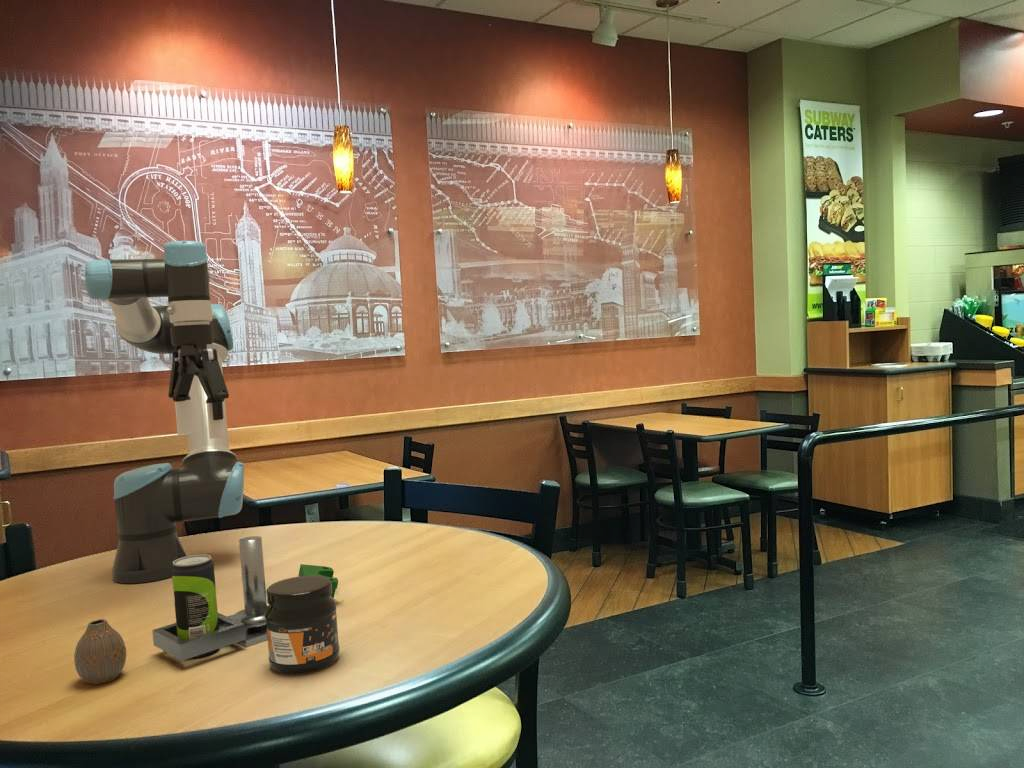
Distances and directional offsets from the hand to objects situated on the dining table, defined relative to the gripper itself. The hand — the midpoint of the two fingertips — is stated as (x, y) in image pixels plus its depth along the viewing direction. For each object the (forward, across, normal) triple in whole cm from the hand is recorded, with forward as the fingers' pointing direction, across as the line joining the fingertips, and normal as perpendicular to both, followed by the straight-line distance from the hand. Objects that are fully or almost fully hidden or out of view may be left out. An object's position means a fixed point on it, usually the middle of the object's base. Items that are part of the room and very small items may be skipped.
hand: (200, 436), depth 155 cm
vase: (+32, +22, -28) cm, 48 cm away
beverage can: (+32, +24, -14) cm, 42 cm away
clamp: (+32, +18, +12) cm, 38 cm away
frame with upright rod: (+32, +24, -9) cm, 41 cm away
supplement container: (+32, +42, -6) cm, 53 cm away
